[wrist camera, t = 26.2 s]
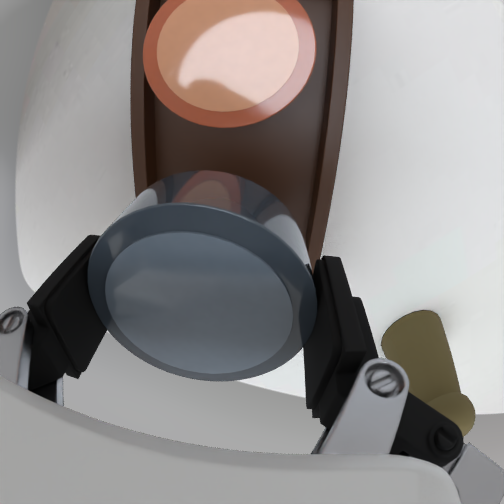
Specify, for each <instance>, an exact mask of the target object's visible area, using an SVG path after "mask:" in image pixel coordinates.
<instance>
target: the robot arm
mask: <svg viewBox="0 0 504 504" xmlns="http://www.w3.org/2000/svg"><path fill="white" fill-rule="evenodd" d="M99 238H100V236H98V235H89V236H87V237H86V238H85V239H84V240H83V241H82V242H81V243H80V244H79V245H78V246H77V247H76V248H75V249H74V250H73V252H72V253H71V254H70V255H69V256H68V257H67V258H66V259H65V260H64V261H63V262H62V263H61V264H60V265H59V266H58V267H57V269H56V270H55V271H54V272H53V273H52V274H51V275H50V276H49V277H48V279H47V280H46V281H45V282H44V283H43V284H42V285H41V287H40V288H39V289H38V290H37V291H36V293H35V294H34V295H33V296H32V297H31V299H30V300H29V301H28V302H27V304H28V306H29V309H30V310H29V312H28V313H27V312H26V310H25V309H24V308H22V307H13V308H9V309H7V310H5V311H4V312H3V313H2V314H0V504H500V502H501V500H502V498H503V496H504V470H503V469H502V468H501V467H500V466H499V465H497V464H496V463H495V462H494V461H492V460H491V459H490V458H488V457H487V456H486V455H484V454H483V453H482V452H481V451H479V450H478V449H477V448H476V447H475V446H473V445H472V444H471V443H468V444H464V443H463V435H462V431H461V430H460V428H459V427H458V425H456V424H455V423H454V422H453V421H452V420H450V419H449V418H447V417H446V416H444V415H443V414H441V413H440V412H438V411H437V410H435V409H434V408H432V407H431V406H429V405H428V404H426V403H425V402H423V401H422V400H420V399H419V398H417V397H416V396H414V395H413V394H411V393H410V392H409V391H408V390H409V379H408V376H407V374H406V372H405V371H404V369H403V368H402V367H401V366H400V365H399V364H397V363H395V362H393V361H392V360H388V359H384V358H379V357H378V354H377V350H376V346H375V343H374V339H373V336H372V332H371V329H370V326H369V322H368V319H367V316H366V312H365V309H364V306H363V303H362V300H361V298H359V297H352V294H351V290H350V287H349V284H348V280H347V277H346V274H345V271H344V268H343V265H342V261H341V259H340V257H333V256H323V257H322V260H318V259H317V260H316V263H315V267H314V272H313V279H314V283H315V288H316V294H317V299H318V312H317V317H316V320H315V324H314V327H313V331H312V334H311V336H310V337H309V339H308V341H307V342H306V344H305V345H304V346H303V350H304V368H305V387H306V406H307V409H312V415H313V416H312V417H313V418H320V422H321V424H322V425H324V426H325V427H326V428H325V429H324V431H323V433H322V435H321V437H320V439H319V440H318V442H317V444H316V446H315V448H314V450H313V451H312V453H311V454H278V453H261V452H247V451H238V450H229V449H221V448H213V447H207V446H200V445H195V444H189V443H184V442H179V441H174V440H169V439H164V438H161V437H156V436H152V435H148V434H144V433H140V432H136V431H133V430H129V429H126V428H123V427H119V426H116V425H113V424H109V423H107V422H104V421H100V420H98V419H95V418H92V417H89V416H87V415H84V414H81V413H79V412H76V411H73V410H71V409H69V408H66V407H64V403H63V402H64V401H63V375H64V373H66V374H67V375H68V376H71V377H74V378H77V379H78V378H79V377H80V375H81V372H84V371H85V370H86V369H87V367H88V365H89V363H90V361H91V359H92V357H93V355H94V353H95V352H96V350H97V348H98V346H99V344H100V342H101V340H102V338H103V337H104V335H105V333H106V331H107V329H106V327H105V326H104V325H103V323H102V322H101V320H100V318H99V317H98V315H97V313H96V311H95V309H94V306H93V304H92V301H91V298H90V295H89V290H88V283H87V270H88V264H89V259H90V256H91V253H92V250H93V248H94V246H95V244H96V243H97V241H98V239H99Z"/></svg>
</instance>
